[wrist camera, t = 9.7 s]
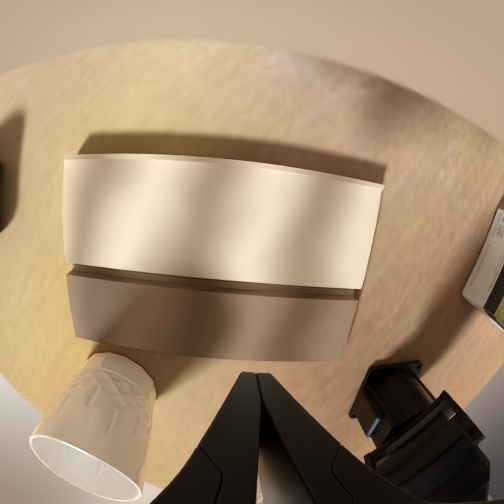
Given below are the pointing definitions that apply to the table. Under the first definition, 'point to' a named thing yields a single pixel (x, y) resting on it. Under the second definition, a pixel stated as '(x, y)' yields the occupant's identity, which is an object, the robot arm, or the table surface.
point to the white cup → (100, 428)
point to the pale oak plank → (218, 219)
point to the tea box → (489, 275)
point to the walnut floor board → (210, 315)
